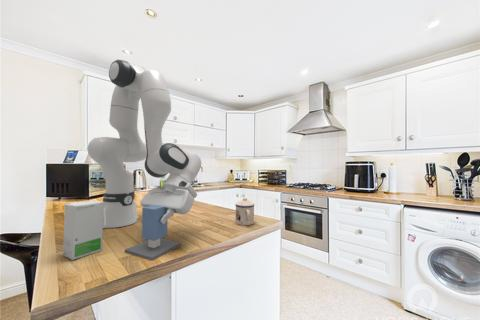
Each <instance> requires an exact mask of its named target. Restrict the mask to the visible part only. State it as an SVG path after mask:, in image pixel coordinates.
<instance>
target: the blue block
mask: <svg viewBox="0 0 480 320" xmlns="http://www.w3.org/2000/svg"><path fill="white" fill-rule="evenodd" d="M141 209H142V210H141V211H142V214H141V215H142V216H141V217H142V219H141V222H142V223H141V239H144V240H152V241H155V240H158V239H160V238H164V237H167V236H168V220H167V221H166V223H165V224H162V223H160V222H159V219H160V217H161V216H164V215H165V214H166V213H167V208H165V207H164V206H156V205H152V206H147V207H143V206H142V208H141Z"/></svg>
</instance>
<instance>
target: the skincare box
mask: <svg viewBox="0 0 480 320" xmlns="http://www.w3.org/2000/svg"><path fill="white" fill-rule="evenodd" d="M103 203H104V202H103V201H98V200H87V201H78V202H77V201H76V202H69V203H64V219H63V220H64V222H63V223H64V224H63V243H62V244H63V246H62V256H63V257H65V258H68V259H69V260H72V261H74V260H77V259H79V258H80V259H81V258H84V257H86V256H90V255H92V254H95V253H98V252H102V251H103V238H104V237H103V234H104V231H103V230H104V228H103Z"/></svg>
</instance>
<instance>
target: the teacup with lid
mask: <svg viewBox="0 0 480 320" xmlns="http://www.w3.org/2000/svg"><path fill="white" fill-rule="evenodd" d="M235 223H236V224H237V225H239V226H250V225H251V226H252V225H253V224H254V223H255V203H254V202H253V201H250V200H249V199H248V198H247V197H243V198H242V199H241V200H239V201H238V202H236V203H235Z"/></svg>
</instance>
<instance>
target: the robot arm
mask: <svg viewBox="0 0 480 320" xmlns="http://www.w3.org/2000/svg"><path fill="white" fill-rule="evenodd" d="M108 77H109V80H110V82H111V83H112V84H114V85H115V86H114V89H113V91H112V96H111V102H110V109H109V119H108V120H109V122H108V123H109V124H110V126H111V127H112V128H113V129H115V130H116V131H117V132H118V136H119V137H109V136H100V137H99V136H98V137H94V138H92V139H91V140H90V142H88V145H87V152H88V154H87V155H88V156H89V157H90V158H91V159H92V160H93V161H95V162H96V163H97V164H98V165H99V166H100V167H101V169H102V172H103V174H104V178H105V179H104V180H105V192H104V193H103V194H102V202H104V203H103V229H108V228H109V229H112V228H121V227H125V226H130V225H133V224H135V223H137V222H138V219H139V215H138V213H137V204H136V201H135V197H136V196H135V195H136V194H135V191H134V189H135V188H134V184H135V183H134V182H135V181H134V179H135V178H134V174H133V173H132V172H130V171H129V170H127V169H126V167H125V166H124V165H125V164H124V163H137V162H140V161H144V160H145V161H144V168H145V171H146V173H148V175H149V176H151V177H153V178H158V179H159V178H160V179H161V178H163V177H166V176H167V175H168V174H169V175H168V177H167V178H166V180H165V181H164V182H163V184H162V186H156V187H155V188H151V189H150V190H149V191H148V192H147V193H146V194H145V196H144V197H142V199H141V200H140V206H142V208H143V207H147V206H152V205H156V206H164V207H165V208H167V213H166V214H165V215H164V216H161V217H160V219H159V222H160V223H162V224H165V223H166V221H167V222H168V220H169V219H170V218H172V217H173V216H174V214H179V215H187V214H188V213H189V212H190V211H191V208H192V207H193V205H194V203H195V198H197V196H198V193H197V191H196V190H195V188H194V187H193V186H192V182H194V181H195V179H196V178H197V176H198V174H199V172H200V170H201V168H202V160H201V157H200V156H199V155H198V154H197V153H195V152H193V151H186V150H183V149H182V148H180V146H178V145H177V144H176V143H171V142H168V143H164V144H163V139H162V132H163V128H164V125H165V123H166V122H167V119H168V118H169V116H170V114H171V111H172V101H171V96H170V92H169V89H168V85H167V82H166V80H165V78H164V76H163V74H162V73H160V72H159V71H157V70H155V69H146V68H144V67H141V66H139V65H136V64H134V63H130V62H128V61H127V60H122V59H116V60H114V61H113V62H111V64H110V67H109V70H108ZM140 101H141V107H142V108H141V109H142V116H143V124H144V125H143V126H144V138H145V142H144V141H143V140H142V139H141V137H140V133H139V130H138V121H139V120H138V119H139V117H138V116H139V105H140V104H139V103H140Z"/></svg>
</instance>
